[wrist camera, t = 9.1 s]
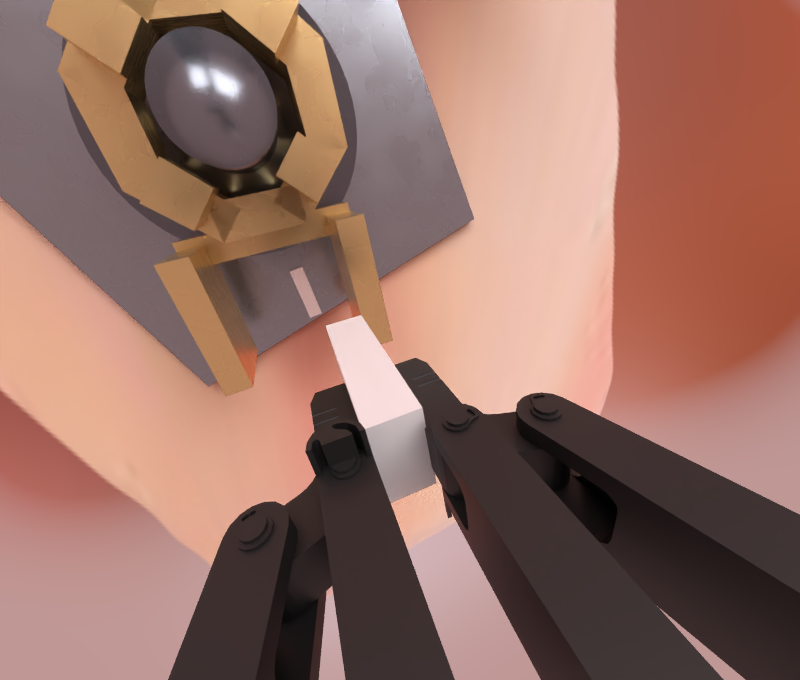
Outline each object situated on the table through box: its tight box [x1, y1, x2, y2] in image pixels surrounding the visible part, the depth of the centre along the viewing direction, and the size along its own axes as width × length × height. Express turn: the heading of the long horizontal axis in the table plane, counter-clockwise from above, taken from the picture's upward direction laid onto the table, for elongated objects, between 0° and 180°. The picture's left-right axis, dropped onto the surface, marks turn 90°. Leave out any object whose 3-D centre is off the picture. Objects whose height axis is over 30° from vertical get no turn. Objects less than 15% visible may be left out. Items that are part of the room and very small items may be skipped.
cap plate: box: [0, 0, 474, 386], centre depth 17 cm, size 26×26×9 cm
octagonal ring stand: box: [46, 0, 393, 396], centre depth 17 cm, size 18×11×5 cm, turn 12°
